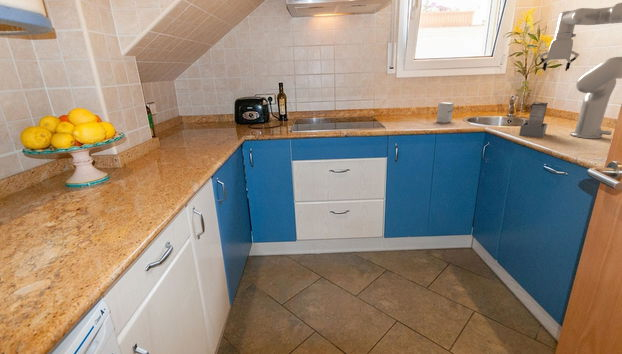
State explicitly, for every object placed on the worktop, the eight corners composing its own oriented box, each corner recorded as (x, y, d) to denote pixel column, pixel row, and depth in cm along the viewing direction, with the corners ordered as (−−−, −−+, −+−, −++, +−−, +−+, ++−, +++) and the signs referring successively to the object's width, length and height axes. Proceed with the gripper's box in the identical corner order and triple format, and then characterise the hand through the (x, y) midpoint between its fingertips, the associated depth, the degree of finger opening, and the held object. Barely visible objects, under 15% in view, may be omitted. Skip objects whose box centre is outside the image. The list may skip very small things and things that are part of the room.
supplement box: (446, 123, 206) (448, 103, 202) (435, 121, 211) (438, 102, 207) (451, 121, 211) (454, 102, 206) (441, 120, 216) (443, 102, 212)
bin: (545, 133, 170) (547, 123, 168) (542, 137, 161) (544, 127, 159) (523, 131, 176) (525, 121, 174) (519, 135, 167) (521, 125, 165)
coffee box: (527, 131, 173) (533, 102, 168) (541, 132, 170) (548, 102, 164) (525, 134, 167) (531, 103, 161) (539, 135, 163) (546, 104, 157)
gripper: (584, 36, 163) (575, 70, 169) (544, 38, 174) (537, 70, 180) (583, 35, 158) (574, 70, 164) (542, 37, 169) (535, 71, 174)
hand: (555, 70), depth 172 cm, fingers open, 9 cm apart
